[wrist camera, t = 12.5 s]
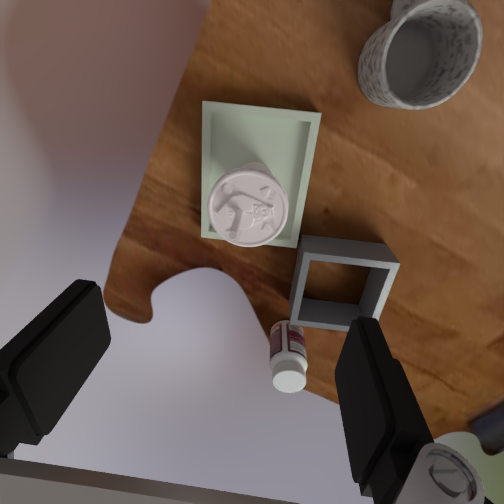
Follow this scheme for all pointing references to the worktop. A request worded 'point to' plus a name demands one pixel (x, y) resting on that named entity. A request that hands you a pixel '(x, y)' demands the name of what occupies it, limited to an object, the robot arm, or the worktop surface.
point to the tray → (259, 154)
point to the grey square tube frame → (345, 253)
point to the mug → (420, 54)
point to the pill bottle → (288, 357)
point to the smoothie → (248, 205)
